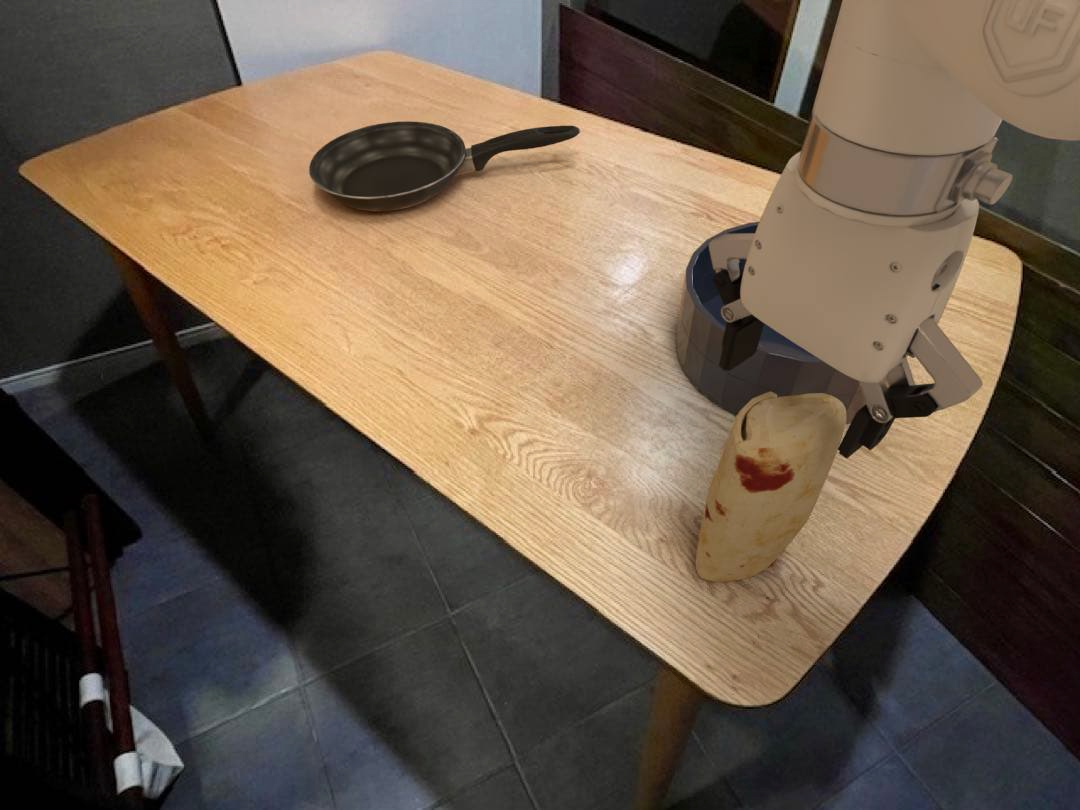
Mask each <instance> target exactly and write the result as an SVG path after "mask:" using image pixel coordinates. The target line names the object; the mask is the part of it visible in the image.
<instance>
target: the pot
mask: <svg viewBox="0 0 1080 810" xmlns="http://www.w3.org/2000/svg"><path fill="white" fill-rule="evenodd" d="M759 222H760V221H754V222H753V221H752V222H747V223H743V224H741V225H737V226H733V227H729V228H726V229H724V230H722V231H720V232H718V233H716V234H715V235H713V236H710V237H708V238H707V239H705V240H704V242H703V243H701V245H700V246H699V247H698V248H696V249H695V250H694V251H693V253H692V254H691V256H690V259H689V261H688V263H687V266H686V268H685V273H684V280H683V287H682V292H681V300H680V305H679V306H680V307H679V312H678V319H677V327H676V338H675V339H676V340H675V350H676V356H677V359H678V362H679V365H680V367H681V370H682V371H683V373H684V374H685V376H686V377H687V379H688V381H689V382H690V383H691V384H692V385H693V387H694V388H696V390H698V392H699V393H701V394H702V395H703V396H704V397H705V398H707V399H708V401H710V402H712V403H714V404H715V405H716V406H717V407H719V408H721V409H722V410H725V411H726V412H728V413H730V414H732V415H735V416H737V415H738V413H739V411H740V410H741V409H742V408H743V407H744V406H745V405H746V404H747V403H748V402H750V401H751V400H752V399H753V398H755V397H758V396H760V395H763V394H765V393H768V392H770V391H771V392H773V393H775V394H777V397H784V396H797V395H803V394H810V393H823V394H827V395H831V396H833V397H835V398H837V399H838V400H840V401H841V402H842V403H843V405H844V406H845V409H846V425H848V424H849V425H850V424H851V422H852V420H853V418H854V416H855V414H856V413H857V412H858V410H860V409H861V408H862V407H863V406H865V405H866V401H865V399H864V396H863V393H862V390H861V387H860V384H859V381H858V380H855V379H853V378H851V377H849V376H847V375H845V374H843V373H842V372H840V371H838V370H837V369H835V368H833V367H832V366H830V365H828V364H827V363H825V362H824V361H822V360H820V359H819V358H817V357H816V356H814V355H812V354H811V353H809V352H808V351H806V350H805V349H803V348H801V347H800V346H798V345H797V344H795V343H794V342H792V341H791V340H789V339H787V338H786V337H784V336H783V335H781V334H780V333H778V332H777V331H775V330H774V329H772V328H771V327H769V326H768V325H766V324H765V323H764V327H763V330H762V334H761V337H760V340H759V344H758V347H757V351H756V353H755V354H754V355H753V356H751V357H750V358H748V359H747V360H745V361H744V362H742V363H741V364H739V365H738V366H736V367H735V368H733V369H732V370H730V371H728V370H727V371H724V370H723V369H722V368H720V367H719V363H720V359H721V355H722V351H723V347H722V341H723V337H724V333H725V329H726V324H727V321H725V320H724V318H723V317H722V315H721V308H722V307H723V306H724V304H723V301H722V299H721V297H720V295H719V293H718V290H717V288H716V286H715V284H714V281H713V277H714V275H715V274H716V271H715V269H713V265H712V260H711V255H710V251H709V243H710V242H711V241H712V240H714V239H716V238H718V237H719V236H721V235H723V234H733V233H755V232H756V230H757V227H758V225H759ZM739 261H740V263H738V264H739V265H740V266H741V267H742V268H743V270H744V267H745V264H746V261H747V259H739ZM905 355H906V354H905ZM908 357H909V356H908V355H906V358H907V359H908ZM884 380H885V383H886V386H887V388H888V387H890V386H889V383H888V380H887V378H886V377H885V378H884Z"/></svg>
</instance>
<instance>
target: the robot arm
mask: <svg viewBox="0 0 1080 810" xmlns="http://www.w3.org/2000/svg"><path fill="white" fill-rule="evenodd" d="M1002 121H1004V122H1006V123H1008V124H1010V125H1012V126H1014V128H1015V127H1016V128H1017V129H1020V130H1022V132H1023V131H1024V132H1025V133H1029V134H1032V135H1035V136H1038V137H1042V138H1046V139H1051V140H1061V141H1069V142H1071V141H1072V142H1073V141H1080V0H842V1H841V5H840V9H839V12H838V16H837V20H836V23H835V26H834V30H833V33H832V36H831V41H830V45H829V48H828V52H827V55H826V59H825V62H824V66H823V70H822V74H821V78H820V81H819V84H818V88H817V91H816V95H815V98H814V103H813V107H812V110H811V114H810V117H809V120H808V125H807V127H806V132H805V135H804V139H803V143H802V147H801V150H800V151H798V152H797V153H795V154H794V155H792V157H790V159H788V161H787V163H786V165H785V167H784V168H783V171H782V172H781V174H780V176H779V177H778V180H777V181H776V184H775V186H774V188H773V190H772V191H771V194H770V196H769V198H768V200H767V202H766V205H765V207H764V210H763V211H762V214H761V217H760V218H759V219H760V220H759V221H758V222H759V225H758V227H757V230H756V232H755V233H733V234H723V235H721V236H719V237H718V238H716V239H714V240H712V241H711V242H710V243H709V251H710V255H711V260H712V265H713V269H715V271H716V274H715V275H714V277H713V281H714V284H715V286H716V288H717V290H718V293H719V295H720V297H721V299H722V301H723V304H724V306H723V307H722V308H721V315H722V317H723V318H724V320H725V321H727V324H726V329H725V333H724V337H723V341H722V347H723V351H722V355H721V359H720V363H719V367H720V368H722V369H723V370H724V371H727V370H728V371H730V370H732V369H733V368H735V367H736V366H738V365H739V364H741V363H742V362H744V361H745V360H747V359H748V358H750V357H751V356H753V355H754V354H755V353H756V351H757V347H758V344H759V340H760V337H761V334H762V330H763V327H764V323H765V324H766V325H768V326H769V327H771V328H772V329H774V330H775V331H777V332H778V333H780V334H781V335H783V336H784V337H786V338H787V339H789V340H791V341H792V342H794V343H795V344H797V345H798V346H800V347H801V348H803V349H805V350H806V351H808V352H809V353H811V354H812V355H814V356H816V357H817V358H819V359H820V360H822V361H824V362H825V363H827V364H828V365H830V366H832V367H833V368H835V369H837V370H838V371H840V372H842V373H843V374H845V375H847V376H849V377H851V378H853V379H855V380H858V381H859V384H860V387H861V390H862V393H863V396H864V399H865V401H866V405H865V406H863V407H862V408H861V409H860V410H858V412H857V413H856V414H855V416H854V418H853V420H852V422H851V423H849V425H848V428H847V429H846V432H845V434H844V435H843V437H842V439H841V442H840V445H839V448H838V451H839V452H838V454H839V455H840V456H842V457H843V458H845V459H846V460H848V458H850V457H851V456H852V455H853V454H855V453H856V452H857V451H858V450H860V449H861V448H862V447H864V448H865V449H867V450H868V451H872V450H873V449H874V448H875V447H877V446H879V444H880V443H881V442H882V440H883V439H884V438H885V437H886V436H887V434H888V432H889V431H890V428H891V427H892V425H893V424H894V422H895V419H909V418H910V419H911V418H927V417H929V416H931V415H932V414H933V413H937V412H939V411H941V410H942V411H943V410H945V409H948V408H950V407H954V406H956V405H959V404H961V403H964V402H966V401H967V400H969V399H970V398H971V397H972V396H974V395H975V394H976V393H977V392H978V391H980V389H982V388H983V387H982V386H983V379H982V378H981V376H979V375H978V373H977V372H976V371H975V369H974V368H973V367H972V366H971V365H970V364H969V362H968V361H967V359H965V357H964V355H962V354H961V352H960V351H959V349H958V348H957V347H956V346H955V345H954V343H953V342H952V341H951V340H950V339H949V337H948V336H947V334H945V332H944V331H943V330H942V328H941V327H940V326H939V323H940V321H941V319H942V317H943V315H944V312H945V310H946V307H947V306H948V303H949V301H950V298H951V296H952V293H953V291H954V289H955V286H956V284H957V281H958V279H959V277H960V275H961V271H962V269H963V267H964V263H965V260H966V257H967V255H968V252H969V249H970V247H971V243H972V239H973V235H974V232H975V230H976V229H975V228H976V225H977V220H978V216H979V212H980V211H979V210H980V203H979V201H981V202H983V203H986V204H987V205H991V206H993V205H995V204H996V203H997V202H998V201H999V200H1000V199H1001V198H1002V196H1003V195H1004V194H1005V192H1006V190H1008V188H1009V186H1010V184H1011V183H1012V180H1013V174H1011V173H1009V172H1006V171H1003V170H1001V169H998V164H996V163H993V162H991V161H992V159H993V158H992V157H993V153H992V152H993V151H994V149H995V147H996V145H997V142H998V140H999V138H997V137H995V135H996V133H997V131H998V129H999V128H1000V125H1001V124H1002ZM739 259H747V261H746V264H745V267H744V270H743V268H742V267H741V266H740V265H739V264H738V263H740V261H739ZM905 354H906V355H908V356H907V358H906V355H905ZM908 357H910V358H911V359H914V358H916V360H918V362H919V364H920V365H922V367H923V368H924V369H925V371H926V372H927V373H928V375H929V376H930V377H931V378H932V380H933V382H934V383H933V382H932V383H922V384H921V383H920V384H916V383H915V379H914V377H913V374H912V370H911V367H910V364H909V361H908ZM885 377H886V378H887V380H888V383H889V386H890V387H888V388H887V386H886V383H885V380H884V378H885Z"/></svg>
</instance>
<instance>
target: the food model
mask: <svg viewBox="0 0 1080 810" xmlns="http://www.w3.org/2000/svg"><path fill="white" fill-rule="evenodd" d="M846 426H847V424H846V409H845V406H844V405H843V403H842V402H841V401H840V400H838V399H837V398H835V397H833V396H831V395H827V394H823V393H810V394H803V395H797V396H784V397H777V394H775V393H773V392H771V391H770V392H768V393H765V394H763V395H760V396H758V397H755V398H753V399H752V400H751V401H750V402H748V403H747V404H746V405H745V406H744V407H743V408H742V409H741V410H740V411H739V413H738V415H736V416H735V418H734V421H733V424H732V426H731V428H730V431H729V434H728V437H727V439H726V442H725V444H724V446H723V447H724V448H723V450H722V453H721V456H720V457H719V461H718V463H717V466H716V469H715V470H714V473H713V476H712V477H711V481H710V482H709V486H708V490H707V494H706V498H705V504H704V509H703V515H702V520H701V525H700V528H699V529H700V530H699V536H698V542H697V550H696V557H695V569H696V572H697V574H698V576H699V577H700V578H701V579H703V580H706V581H708V582H709V581H710V582H721V583H725V582H732V581H733V582H735V581H740V580H744V579H745V580H746V579H749V578H751V577H754V576H756V575H759V574H761V573H763V572H765V571H767V570H768V569H770V568H771V567H773V566H774V564H776V561H777V560H778V558H779V557H780V556H781V555H782V554H783V553H784V552H785V550H786V549H787V548H788V547H789V546H790V544H791V543H792V542H793V541H794V540H795V538H796V537H797V535H799V533H800V532H801V530H802V529H803V527H804V526H805V525H806V523H807V522H808V521H809V519H810V517H811V515H812V514H813V511H814V509H815V506H816V503H817V501H818V499H819V497H820V495H821V493H822V490H823V488H824V485H825V483H826V481H827V478H828V477H829V474H830V472H831V470H832V467H833V464H834V461H835V459H836V456H837V454H838V451H839V450H838V448H839V446H840V444H841V442H842V440H843V437H844V433H845V431H846V430H845V429H846Z"/></svg>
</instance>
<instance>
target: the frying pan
mask: <svg viewBox="0 0 1080 810" xmlns="http://www.w3.org/2000/svg"><path fill="white" fill-rule="evenodd" d="M580 133H581V129H580V128H579V127H577V126H575V125H549V126H538V127H532V128H525V129H521V130H516V131H512V132H508V133H505V134H501V135H498V136H495V137H492V138H490V139H487V140H485V141H482V142H479V143H475V144H472V145H470V147H468V148H466V144H465V141H464V140H463V138H462V137H461V136H460V135H459V134H458V133H457V132H455V131H454V130H452V129H451V128H448V127H445V126H443V125H439V124H435V123H431V122H425V121H424V122H423V121H411V120H410V121H408V120H406V121H392V122H383V123H376V124H372V125H371V124H370V125H367V126H363V127H360V128H358V129H354V130H351V131H349V132H347V133H344V134H341V135H340V136H337V137H336V138H334V139H332V140H330V141H329V142H327V143H326V144H324V145H323V146H322V147H321V148H319V150H317V152H316V153H315V154H314V155H313V156H312V159H311V161H310V162H309V168H308V173H309V176H310V179H311V180H312V182H313V183H314V185H315V186H316V187H318V188H319V189H321V190H322V191H324V192H325V193H326V194H327V195H328V196H329V197H331V198H332V199H333V200H335V201H337V202H338V203H341V204H343V205H345V206H347V207H350V208H353V209H357V210H362V211H369V212H390V211H397V210H404V209H406V208H410V207H414V206H417V205H420V204H422V203H424V202H427V201H429V200H431V199H433V198H434V197H436V196H437V195H438V194H440V193H442V192H443V190H445V189H446V188H447V187H448V186H449V185H450V184H451V183H452V181H453V180H454V179H455V177H456V176H460V175H464V174H468V173H471V172H481V171H483V170H484V169H485V167H486V165H487V164H488V162H489V161H490V160H491V159H492V158H494V157H495V156H497V155H498V154H501V153H504V152H512V151H523V150H531V149H533V150H534V149H537V148H543V147H548V146H552V145H556V144H559V143H562V142H565V141H569V140H571V139H574V138H576V137H577V136H578V135H580Z"/></svg>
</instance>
